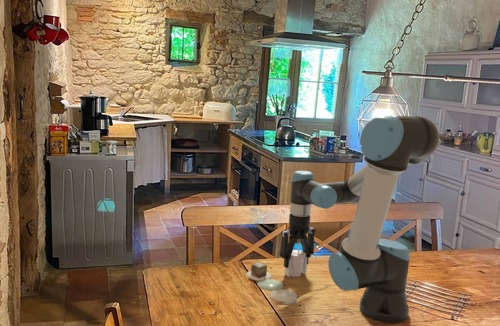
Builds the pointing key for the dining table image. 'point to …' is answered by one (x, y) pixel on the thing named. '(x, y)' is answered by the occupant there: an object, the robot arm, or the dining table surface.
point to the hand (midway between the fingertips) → (295, 273)
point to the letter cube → (258, 269)
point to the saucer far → (258, 278)
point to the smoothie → (297, 261)
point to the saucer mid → (270, 284)
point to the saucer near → (284, 296)
